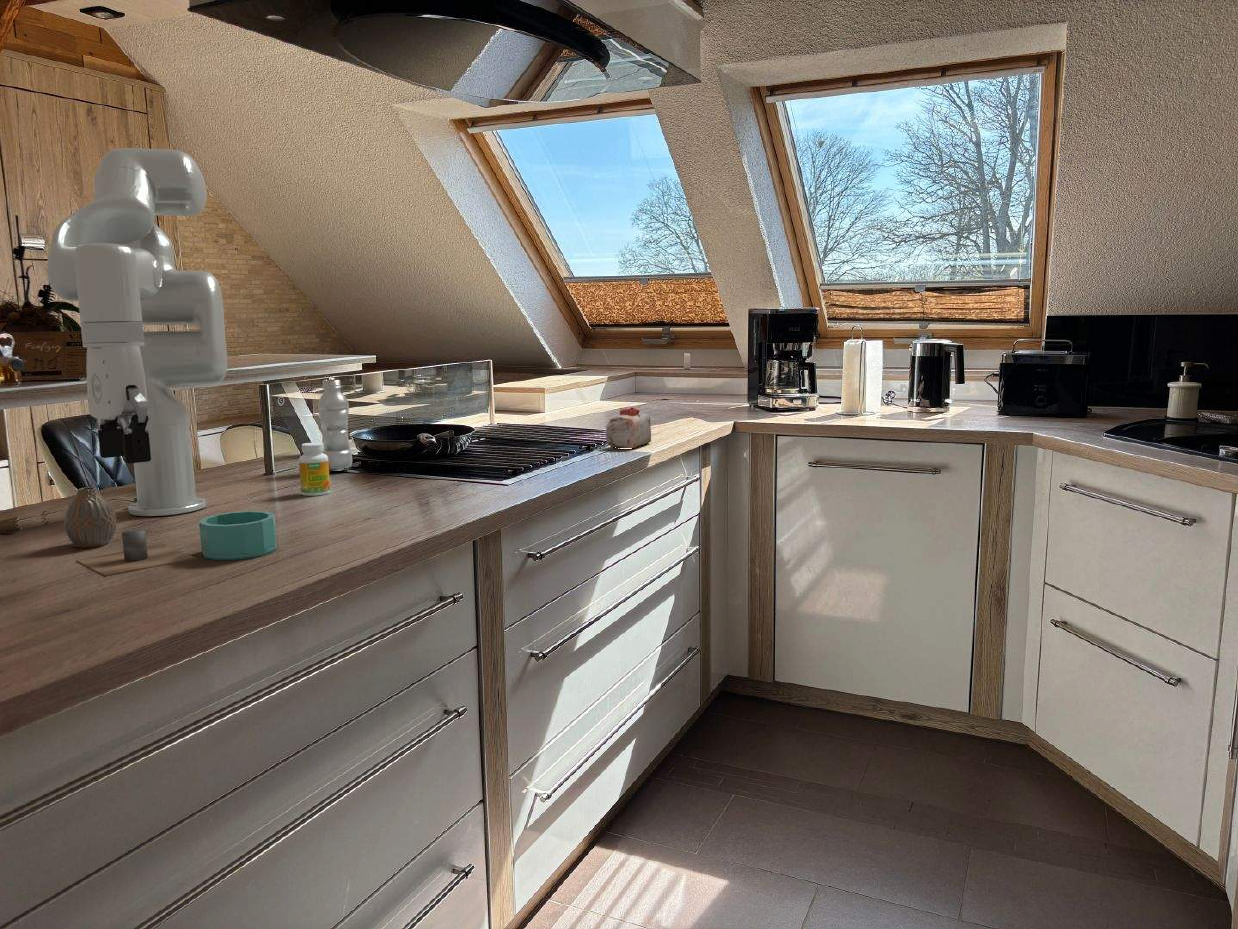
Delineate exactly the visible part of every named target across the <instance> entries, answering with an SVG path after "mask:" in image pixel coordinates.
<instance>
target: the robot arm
mask: <svg viewBox="0 0 1238 929" xmlns="http://www.w3.org/2000/svg"><path fill="white" fill-rule="evenodd" d="M93 182H94V183H93V184H94V195H93V201H92V202H90V203H88V204H86V205H84V206H82V207H81V208H79V209H78V210H76V211H75V212H72V213H71V214H70V215H68V216H67V217H65V218H64V219H62V220H61V221H60V223H58V224H57V226H56V227H55V229H54V231H53V234H52V236H51V241H50V246H49V248H48V249H49V251H48V256H47V263H46V264H47V266H46V272H47V275H46V276H47V281H48V283H49V286H50V288H51V289H52V292H53V293H54V294H55V295H56V296H57V297H59V298H61V299H63V300H66V301H71V302H78V312H79V320H80V327H81V328H80V329H81V339H82V347H83V348H87V349H86V386H87V388H86V390H87V402H88V403H87V406H88V414H89V415H90V416H91V417H92V418H94V419H96V428H97V436H98V446H99V448H98V449H99V456H100V458H102V459H109V458H117V457H119V458H120V457H124V462H125V463H126V464H128V465H129V464H133V468H134V469H133V471H134V478H135V479H134V480H135V490H136V498H137V500H136V501H137V502H135V503H132V504H129V506H128V508H127V509H128V510H127V511H128V513H129V515H133V516H136V517H137V516H140V517H158V516H159V517H161V516H163V517H164V516H171V515H181V514H185V513H186V514H187V513H190V512H195V511H198V510H201V509H203V508H205V507H206V506H207V501H206V499H205V498H203V497H199V496H197V493H196V484H195V473H194V472H195V471H194V459H193V458H194V457H193V451H192V449H193V448H192V440H191V438H192V437H191V426H190V414H189V411H188V408H187V406H186V405H185V403H184V402H183V400H181V399H180V398H179V396H177V395H176V394H175V392H173V391H172V390H171V387H177V386H200V385H213V384H218V383H221V382H222V381H223V380H224V379H225V377H226V376H227V374H228V373H227V372H228V350H227V339H226V326H225V314H224V312H225V311H224V302H223V301H224V300H223V295H222V290H221V286H220V284H219V281H218V279H217V278H216V277H215V275H213V274H212V273H211V272H208V271H205V270H204V271H203V270H186V269H185V270H182V269H181V270H179V269H178V270H177V269H176V266H175V254H174V253H175V252H174V245H173V243H172V241H171V240H170V238H169V237H168V236H167V234H166V233H165V232H164V231H163V230H162V229H161V228H160V227H159V226H158V225H157V224H155V216H179V217H181V216H182V217H185V216H186V217H187V216H188V217H189V216H192V217H193V216H198V215H200V214H202V212H203V211H204V210H205V208H206V204H207V201H208V200H207V198H208V190H207V186H206V182H205V179H204V176H203V174H202V172H201V170H200V167H199V166H198V164H197V163H196V161H195V160H194V158H193V157H192V156H190V155H189V154H188V153H186V152H185V151H181V150H178V149H170V148H166V149H165V148H139V147H123V148H121V147H119V148H115V149H112V150H110V151H108V152H106V153H104V155H103V156H102V157H101V159H100V160H99V163H98V166H97V170H96V171H95V174H94V176H93ZM180 325H181V326H186V325H187V326H188V325H189V326H190V325H191V326H194V327H196V328H197V329H198V330H175V331H174V330H157V331H155V330H153V331H152V330H151V331H144V326H180ZM121 425H122V427H121Z"/></svg>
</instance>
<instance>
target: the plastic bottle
mask: <svg viewBox="0 0 1238 929" xmlns="http://www.w3.org/2000/svg"><path fill="white" fill-rule="evenodd" d="M341 389H342V383H341V379H325V380H322V390H324V391H323V393H322V395H321V396H320V398H319V400H318V403H317V409H318V415H319V419H320V420H319V421H320V427H321V435H322V436H321V437H322V438H321V443H323V446H324V451H323V454H325V455H327V456H328V464H329V470H337V469H344V468H349V467H350V468H352V464H353V456H352V451H351V449H350V440H349V435H348V434H349V430H348V429H349V424H348V423H349V422H348V421H349V411H350V410H349V408H350V403H349V400H348V399H347V398H346V396H345V394H343V392H341Z"/></svg>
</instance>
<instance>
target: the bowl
mask: <svg viewBox="0 0 1238 929" xmlns="http://www.w3.org/2000/svg"><path fill="white" fill-rule="evenodd" d="M198 523H199V525H198V526H199V535H200V548H201V552H202V556H203V557H204V558H205V559H207V560H210V561H211V560H213V561H241V560H248V559H254V558H258V557H262V556H266V555H269V554H271V553H274V552H275V551H276V550H277V528H276V517H275V513H273V512H271V511H270V512H269V511H266V510H265V511H264V510H262V511H261V510H242V511H230V512H224V513H219V514H218V513H217V514H213V515H210V516H207V517H204V518H201V519H200V520H199V522H198Z"/></svg>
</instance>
